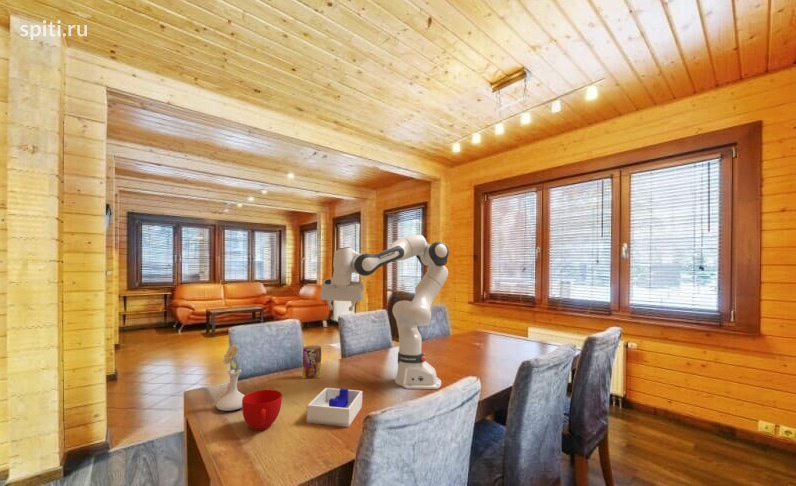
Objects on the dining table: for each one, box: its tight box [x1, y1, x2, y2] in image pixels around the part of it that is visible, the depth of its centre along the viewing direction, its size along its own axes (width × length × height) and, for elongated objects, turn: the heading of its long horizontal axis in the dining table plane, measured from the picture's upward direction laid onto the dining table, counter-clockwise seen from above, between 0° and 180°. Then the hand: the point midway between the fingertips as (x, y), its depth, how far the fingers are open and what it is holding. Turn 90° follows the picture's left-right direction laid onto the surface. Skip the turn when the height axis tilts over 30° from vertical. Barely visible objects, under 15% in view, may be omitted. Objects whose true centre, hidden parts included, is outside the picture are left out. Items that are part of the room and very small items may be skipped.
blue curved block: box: [329, 388, 349, 408], centre depth 128 cm, size 12×4×6 cm, turn 169°
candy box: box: [301, 344, 323, 379], centre depth 168 cm, size 9×4×15 cm, turn 99°
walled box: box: [306, 387, 363, 428], centre depth 127 cm, size 16×18×6 cm
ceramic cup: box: [241, 389, 283, 431], centre depth 115 cm, size 13×17×10 cm
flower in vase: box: [216, 343, 246, 412], centre depth 131 cm, size 13×11×25 cm
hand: (341, 310), depth 159 cm, fingers open, 8 cm apart
